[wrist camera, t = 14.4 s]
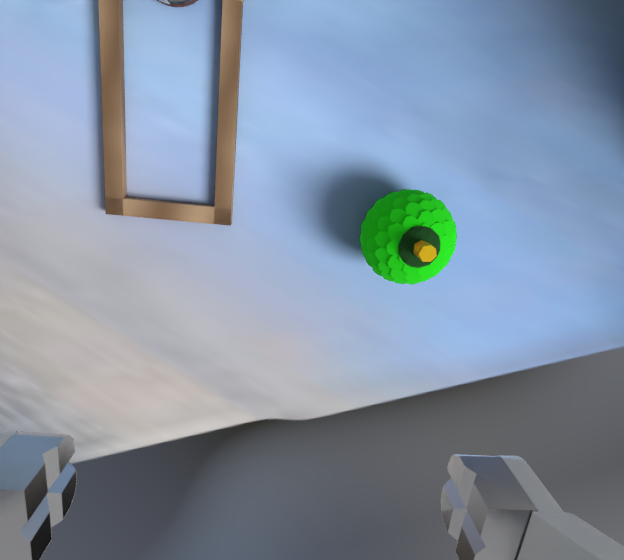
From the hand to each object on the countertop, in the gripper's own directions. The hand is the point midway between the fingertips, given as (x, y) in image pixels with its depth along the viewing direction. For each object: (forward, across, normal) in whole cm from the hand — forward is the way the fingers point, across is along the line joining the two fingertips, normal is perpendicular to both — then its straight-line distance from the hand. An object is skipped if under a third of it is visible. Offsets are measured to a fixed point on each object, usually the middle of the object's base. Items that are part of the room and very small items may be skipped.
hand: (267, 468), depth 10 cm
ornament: (+33, -11, 0) cm, 35 cm away
